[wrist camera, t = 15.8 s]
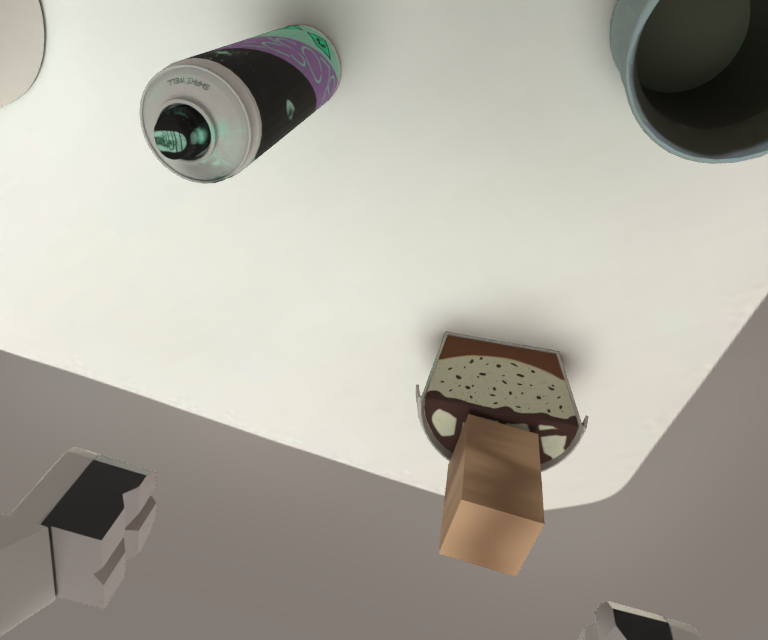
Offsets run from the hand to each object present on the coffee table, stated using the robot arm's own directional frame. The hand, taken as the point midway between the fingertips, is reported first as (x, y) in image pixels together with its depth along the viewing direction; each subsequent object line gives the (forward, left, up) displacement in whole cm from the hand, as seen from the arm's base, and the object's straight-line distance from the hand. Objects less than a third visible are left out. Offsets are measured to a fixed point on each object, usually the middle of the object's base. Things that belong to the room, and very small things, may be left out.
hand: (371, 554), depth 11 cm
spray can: (-12, 0, -37) cm, 39 cm away
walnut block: (+8, -20, -27) cm, 35 cm away
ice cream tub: (+8, -20, -37) cm, 43 cm away
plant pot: (+11, +8, -37) cm, 40 cm away
